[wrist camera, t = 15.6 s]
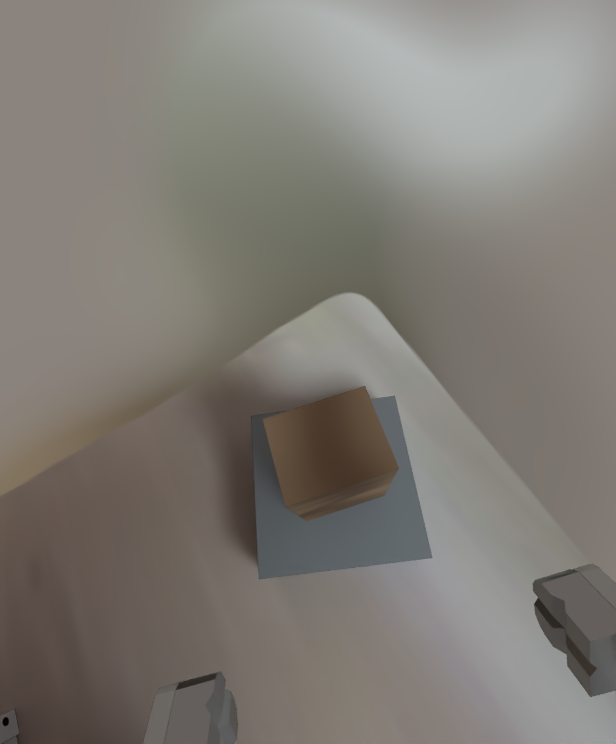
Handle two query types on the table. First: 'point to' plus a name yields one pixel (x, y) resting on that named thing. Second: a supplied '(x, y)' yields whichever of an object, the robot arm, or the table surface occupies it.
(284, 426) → the walnut block
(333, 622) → the table surface
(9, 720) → the walkman
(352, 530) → the slate block
